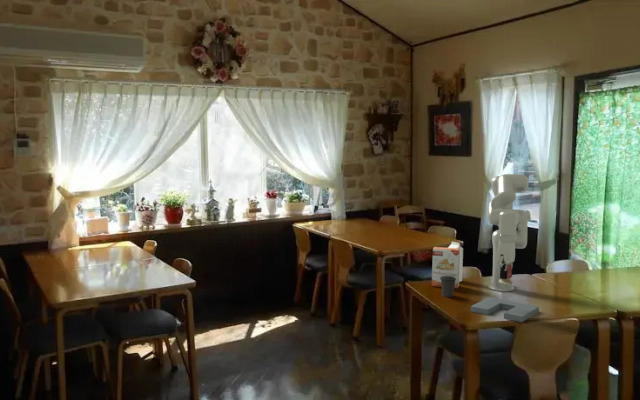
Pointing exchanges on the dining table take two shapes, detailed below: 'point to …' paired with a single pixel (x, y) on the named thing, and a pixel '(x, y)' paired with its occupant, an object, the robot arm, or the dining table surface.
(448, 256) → the cracker box
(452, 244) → the milk
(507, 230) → the robot arm
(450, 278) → the coffee cup
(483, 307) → the notched board
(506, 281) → the bobbin
